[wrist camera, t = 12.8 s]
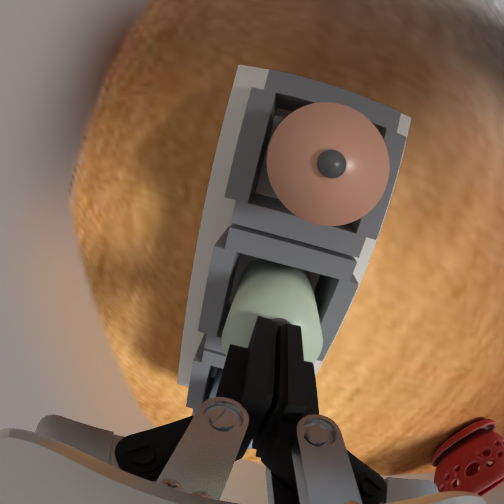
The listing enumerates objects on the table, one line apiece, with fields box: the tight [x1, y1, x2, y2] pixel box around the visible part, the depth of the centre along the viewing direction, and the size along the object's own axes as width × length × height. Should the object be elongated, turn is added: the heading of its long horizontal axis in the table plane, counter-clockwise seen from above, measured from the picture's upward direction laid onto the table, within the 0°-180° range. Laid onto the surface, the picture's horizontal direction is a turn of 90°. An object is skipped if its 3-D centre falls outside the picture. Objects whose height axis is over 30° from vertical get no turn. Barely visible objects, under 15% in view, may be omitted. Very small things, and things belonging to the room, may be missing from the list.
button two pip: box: [222, 258, 323, 364], centre depth 13 cm, size 4×4×5 cm
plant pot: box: [431, 419, 504, 496], centre depth 18 cm, size 13×13×12 cm
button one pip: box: [267, 102, 390, 226], centre depth 10 cm, size 4×4×5 cm
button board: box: [177, 65, 411, 416], centre depth 15 cm, size 23×10×5 cm, turn 166°
